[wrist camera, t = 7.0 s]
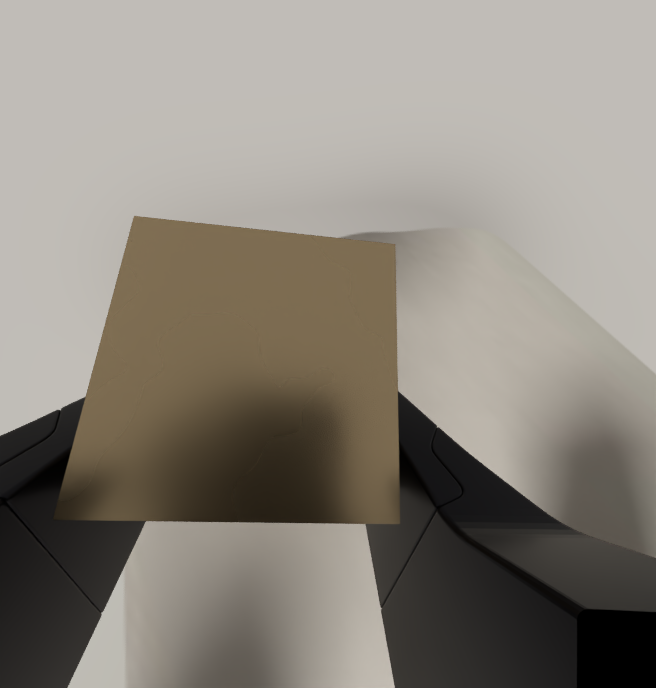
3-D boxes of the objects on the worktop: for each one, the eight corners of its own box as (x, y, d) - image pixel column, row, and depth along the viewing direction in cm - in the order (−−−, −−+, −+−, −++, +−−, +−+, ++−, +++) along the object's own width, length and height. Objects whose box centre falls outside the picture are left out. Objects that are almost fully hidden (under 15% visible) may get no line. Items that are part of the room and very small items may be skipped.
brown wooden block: (324, 442, 14) (400, 524, 4) (239, 438, 14) (52, 520, 3) (328, 360, 15) (395, 244, 5) (249, 355, 15) (133, 216, 4)
